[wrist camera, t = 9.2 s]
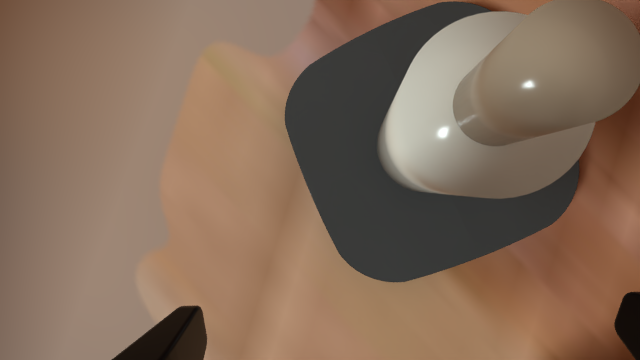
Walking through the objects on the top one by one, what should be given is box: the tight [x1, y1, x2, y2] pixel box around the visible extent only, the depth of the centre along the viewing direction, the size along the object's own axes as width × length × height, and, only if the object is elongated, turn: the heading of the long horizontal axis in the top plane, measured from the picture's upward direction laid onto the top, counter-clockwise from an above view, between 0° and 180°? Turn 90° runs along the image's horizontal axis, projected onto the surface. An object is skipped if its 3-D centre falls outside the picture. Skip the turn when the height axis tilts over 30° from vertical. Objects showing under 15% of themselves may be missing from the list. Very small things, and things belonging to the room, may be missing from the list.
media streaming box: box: [285, 2, 579, 282], centre depth 20 cm, size 15×15×3 cm
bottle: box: [377, 0, 640, 199], centre depth 12 cm, size 5×5×12 cm
